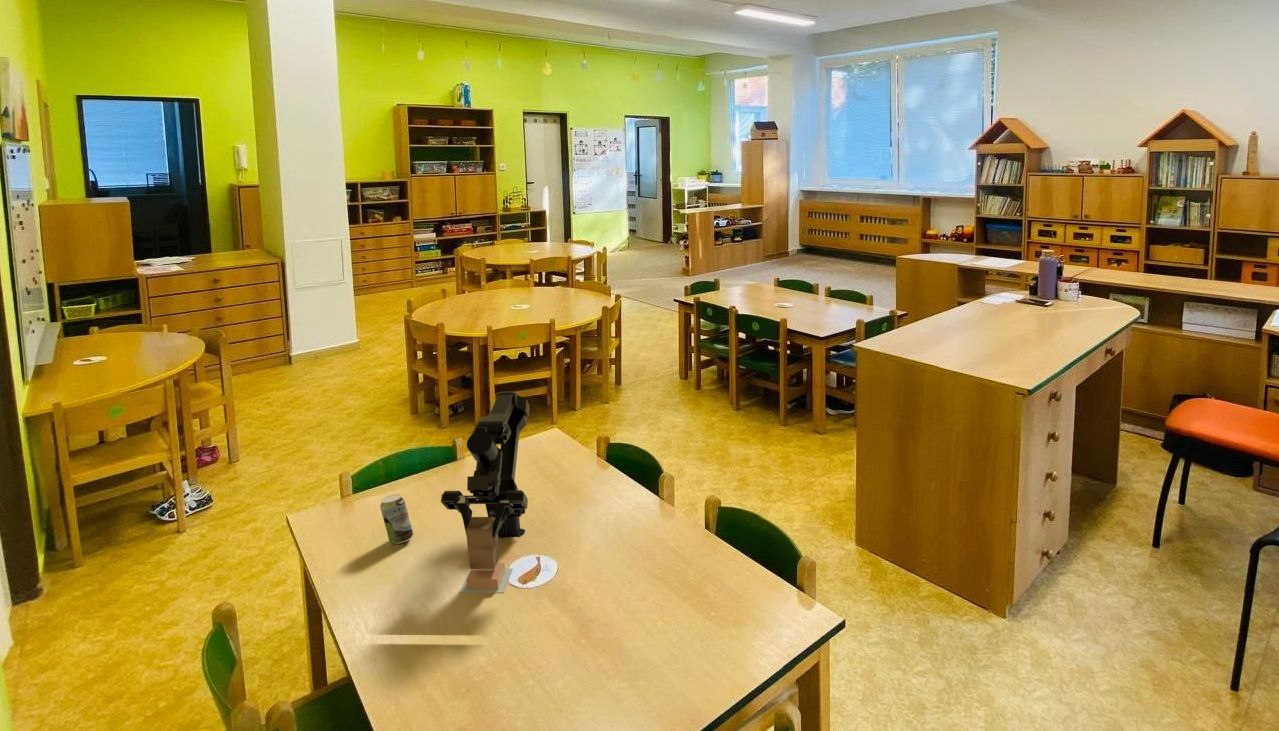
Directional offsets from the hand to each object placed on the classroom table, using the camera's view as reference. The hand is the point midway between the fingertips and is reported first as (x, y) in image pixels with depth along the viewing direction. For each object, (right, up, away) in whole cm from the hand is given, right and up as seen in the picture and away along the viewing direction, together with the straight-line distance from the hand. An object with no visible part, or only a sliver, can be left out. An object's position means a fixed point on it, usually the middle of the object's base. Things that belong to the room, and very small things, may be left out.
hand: (480, 537), depth 170 cm
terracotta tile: (0, -11, +4) cm, 12 cm away
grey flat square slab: (+1, -13, +5) cm, 14 cm away
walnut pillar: (0, -6, +3) cm, 7 cm away
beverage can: (-26, -7, +26) cm, 38 cm away
